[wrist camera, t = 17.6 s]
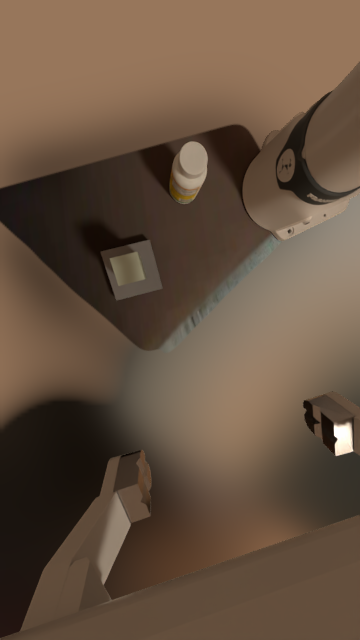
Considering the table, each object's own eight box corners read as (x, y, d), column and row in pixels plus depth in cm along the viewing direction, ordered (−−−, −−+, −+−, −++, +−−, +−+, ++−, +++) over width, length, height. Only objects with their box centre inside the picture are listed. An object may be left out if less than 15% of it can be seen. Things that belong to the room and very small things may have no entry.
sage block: (140, 256, 36) (137, 251, 28) (146, 278, 37) (144, 279, 29) (119, 262, 36) (109, 258, 28) (125, 283, 37) (118, 286, 29)
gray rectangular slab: (149, 241, 38) (149, 239, 36) (162, 287, 40) (162, 288, 38) (103, 252, 37) (100, 251, 35) (118, 299, 39) (116, 300, 37)
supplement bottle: (183, 211, 37) (193, 189, 28) (162, 188, 36) (165, 157, 27) (203, 188, 37) (220, 159, 28) (182, 164, 36) (193, 125, 26)
